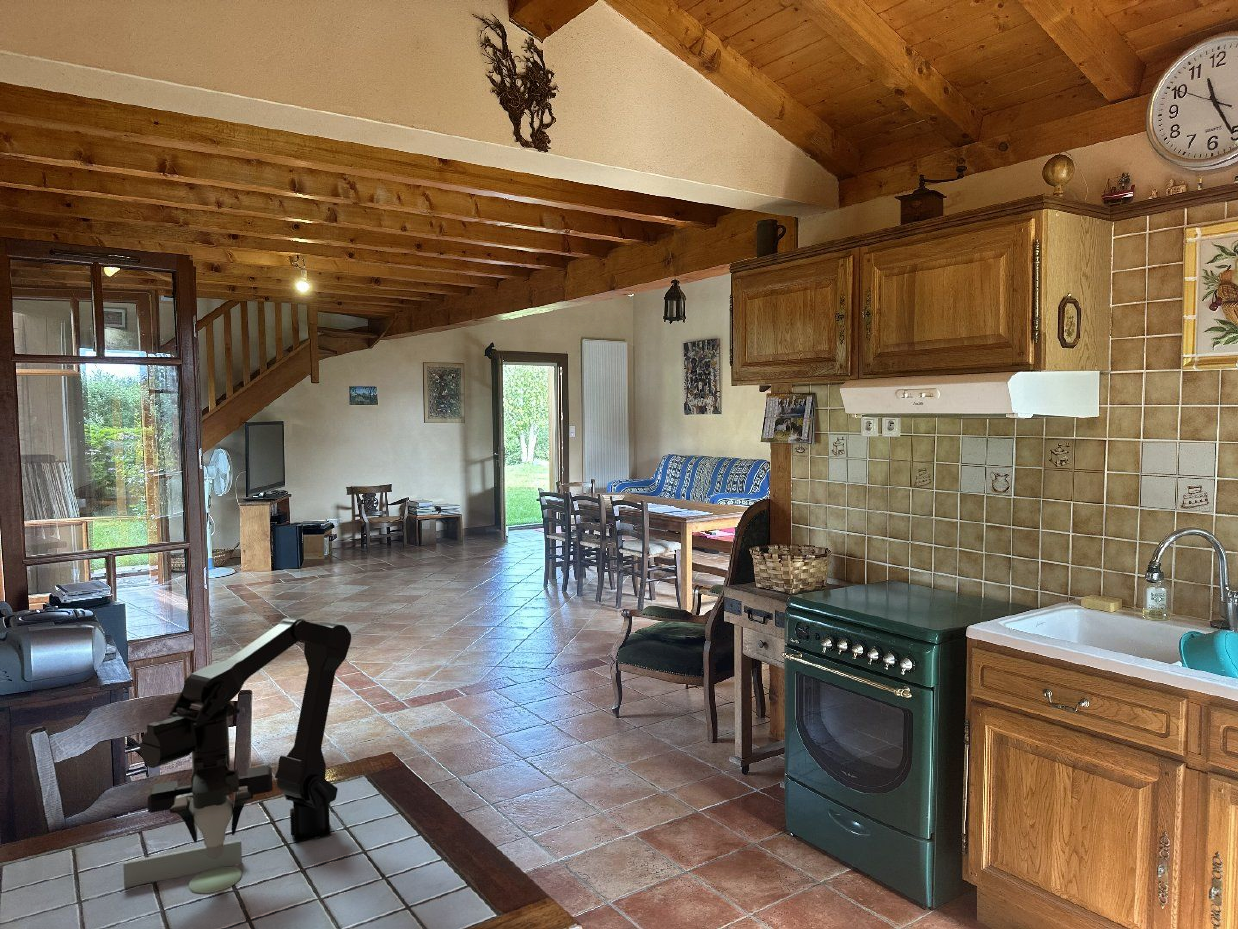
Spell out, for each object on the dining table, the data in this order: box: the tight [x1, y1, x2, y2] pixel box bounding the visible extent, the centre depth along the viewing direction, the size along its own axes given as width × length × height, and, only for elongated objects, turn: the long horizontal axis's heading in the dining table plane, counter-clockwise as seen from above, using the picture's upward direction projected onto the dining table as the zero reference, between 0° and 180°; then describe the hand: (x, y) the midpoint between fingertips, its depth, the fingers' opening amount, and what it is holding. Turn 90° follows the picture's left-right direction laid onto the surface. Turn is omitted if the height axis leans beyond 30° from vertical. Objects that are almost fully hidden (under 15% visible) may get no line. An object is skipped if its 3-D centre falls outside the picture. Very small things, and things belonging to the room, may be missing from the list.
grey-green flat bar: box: [122, 839, 243, 889], centre depth 145 cm, size 18×1×4 cm, turn 113°
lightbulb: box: [193, 795, 234, 859], centre depth 142 cm, size 6×6×11 cm
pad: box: [188, 866, 242, 894], centre depth 142 cm, size 8×8×1 cm
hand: (214, 837), depth 142 cm, fingers closed on lightbulb, 5 cm apart
